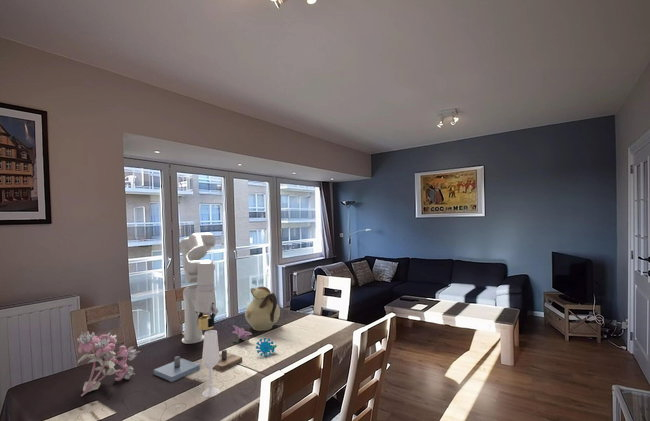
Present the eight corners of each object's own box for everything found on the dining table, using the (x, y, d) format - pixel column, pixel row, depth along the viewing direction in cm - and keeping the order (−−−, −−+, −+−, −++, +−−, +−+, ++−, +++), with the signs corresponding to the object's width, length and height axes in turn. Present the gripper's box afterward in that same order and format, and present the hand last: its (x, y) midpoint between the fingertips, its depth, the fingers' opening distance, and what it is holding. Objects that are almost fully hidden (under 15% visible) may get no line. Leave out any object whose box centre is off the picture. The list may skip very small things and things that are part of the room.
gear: (256, 356, 159) (255, 336, 166) (254, 361, 162) (253, 342, 169) (278, 355, 163) (276, 336, 170) (275, 360, 166) (273, 342, 174)
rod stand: (205, 365, 153) (205, 352, 153) (225, 356, 163) (225, 344, 164) (222, 371, 147) (222, 357, 147) (242, 361, 157) (242, 348, 157)
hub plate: (153, 374, 145) (153, 359, 145) (181, 362, 157) (181, 349, 157) (171, 381, 137) (171, 366, 138) (199, 369, 149) (199, 354, 149)
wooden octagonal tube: (195, 328, 151) (195, 317, 152) (207, 324, 157) (207, 314, 157) (204, 330, 148) (204, 319, 148) (216, 326, 154) (216, 316, 154)
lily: (253, 345, 180) (256, 327, 185) (235, 342, 173) (238, 323, 178) (242, 347, 188) (245, 330, 193) (224, 343, 181) (227, 326, 186)
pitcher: (252, 321, 220) (252, 285, 221) (285, 322, 217) (285, 285, 217) (239, 333, 198) (239, 292, 198) (276, 334, 194) (276, 293, 195)
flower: (118, 397, 123) (137, 328, 135) (53, 397, 119) (78, 327, 131) (135, 395, 140) (150, 335, 152) (79, 395, 137) (99, 333, 149)
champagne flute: (202, 398, 124) (202, 335, 125) (201, 390, 130) (201, 330, 131) (220, 394, 126) (220, 333, 127) (218, 386, 133) (218, 328, 134)
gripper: (187, 287, 154) (187, 324, 154) (211, 291, 146) (211, 330, 145) (200, 284, 161) (200, 320, 160) (224, 288, 152) (224, 325, 152)
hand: (205, 325), depth 153 cm, fingers closed on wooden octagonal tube, 6 cm apart
